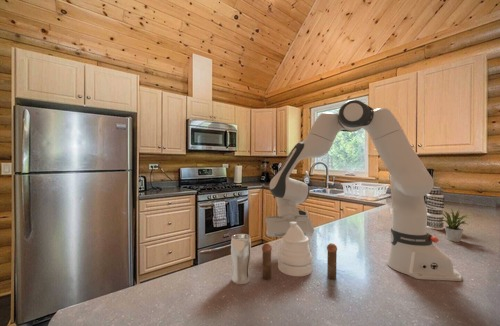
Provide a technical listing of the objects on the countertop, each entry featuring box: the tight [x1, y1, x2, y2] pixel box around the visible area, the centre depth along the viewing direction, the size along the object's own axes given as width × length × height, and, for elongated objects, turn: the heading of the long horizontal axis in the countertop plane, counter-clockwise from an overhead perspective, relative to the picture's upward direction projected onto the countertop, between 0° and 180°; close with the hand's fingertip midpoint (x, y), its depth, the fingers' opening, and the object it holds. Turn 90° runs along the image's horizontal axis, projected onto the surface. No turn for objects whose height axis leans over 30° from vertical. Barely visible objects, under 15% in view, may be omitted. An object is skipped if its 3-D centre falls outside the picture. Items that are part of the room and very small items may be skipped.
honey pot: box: [277, 222, 313, 277], centre depth 91 cm, size 13×13×18 cm
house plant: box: [440, 208, 470, 243], centre depth 121 cm, size 14×14×16 cm
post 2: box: [326, 242, 338, 280], centre depth 83 cm, size 3×3×12 cm
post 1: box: [261, 243, 272, 281], centre depth 83 cm, size 3×3×12 cm
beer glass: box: [230, 233, 252, 285], centre depth 81 cm, size 7×7×15 cm
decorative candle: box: [425, 186, 445, 231], centre depth 144 cm, size 9×9×25 cm
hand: (292, 245), depth 97 cm, fingers closed
